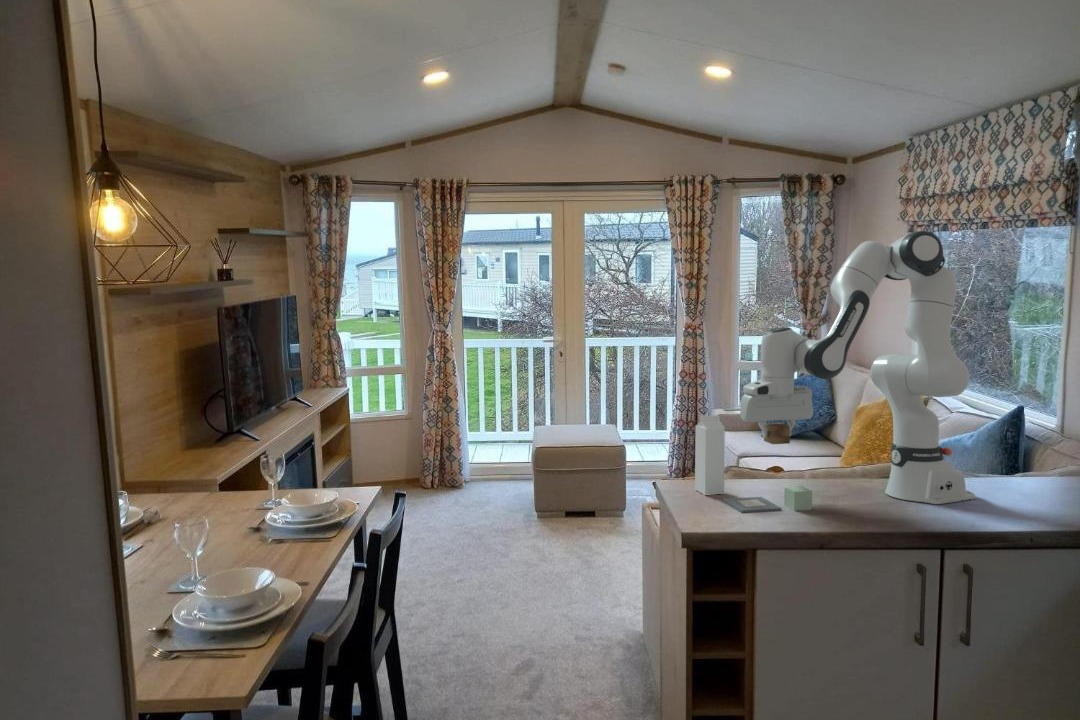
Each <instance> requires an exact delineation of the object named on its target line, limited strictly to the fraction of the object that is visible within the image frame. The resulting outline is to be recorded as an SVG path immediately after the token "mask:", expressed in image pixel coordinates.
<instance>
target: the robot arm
mask: <svg viewBox="0 0 1080 720" xmlns="http://www.w3.org/2000/svg"><path fill="white" fill-rule="evenodd" d="M945 262H946V259H945V256H944V247H943V244H942V242H941V239H940V238H939V237H938V236H937V235H936V234H935V233H933V232H930V231H925V230H920V231H913V232H910V233H908V234H906V235H905V236H902V237H900V238H897V240H895V241H893V242H892V243H890V244H889V245H885V244H883V243H881V242H879V241H875V240H867V241H863V242H862V243H860V244H859V245H858V246H857V247H855V249H854V250H853V251H852V252H851V253H850V254H849V255H848V256H847V258H846V259H845V261H844V262H843V263H842V265H841V266H840V268H839V269H838V271H837V272H836V274H835V275H834V277H833V279H832V281H831V285H830V295H831V297H832V298H833V301H834V302H835V303H836V304H838V305H839V311H838V314H837V317H836V318H835V319H834V322H833V323H832V325H831V328H830V329H829V331H828V332H827V333H828V334H826V336H825V337H822V338H821V339H812V338H809V337H806V336H803V335H801V334H799V333H798V332H796V331H794V330H793V328H791V327H789V326H781V327H775V328H770V329H768V330H766V331H765V332H763V336H762V339H761V343H760V363H761V372H760V377H759V378H760V379H757V380H755V381H752V382H750V383H748V384H745V385H743V389H742V390H743V393H745V394H743V396H742V397H741V401H740V412H739V413H740V415H739V416H740V418H741V420H742V421H743V422H746V423H757V425H758V426H759V427H758V428H760V430H761V437H763V438H764V437H770V431H768V430H767V429H766V428H765V426H764V425H766V423H767V422H774V421H775V422H776V421H778V422H779V421H786V422H787V425H790V437H791V436H792V430H793V429H794V427H795V426H796V422H797V421H796V420H810V419H812V417H813V415H814V406H813V401H812V399H813V390H812V389H811V387H809V386H808V385H795V373H796V372H797V373H801V374H803V375H809V376H813V377H815V378H819V379H821V380H830V379H833V378H835V377H836V376H838V375H839V374H840V373H841V372H842V371H843V369H844V368H845V366H846V362H847V357H848V352H849V349H850V347H851V345H852V343H853V340H854V339H855V337H856V336H857V333H858V331H859V330H860V329H861V326H862V324H863V322H864V319H865V317H866V315H867V313H868V311H869V309H870V306H871V305H870V303H871V300H872V297H873V295H874V293H875V291H876V290H877V289H878V287H879V285H880V283H881V282H882V280H883V279H884V278H886V279H889V280H892V281H904V280H907V279H908V281H909V283H910V295H909V299H908V304H907V305H908V306H907V311H906V314H905V315H906V316H905V321H904V326H903V327H904V328H903V329H904V332H905V334H906V335H907V336H908V337H909V339H911V340H913V341H914V342H916V343H917V345H918V353H917V354H910V353H889V354H884V355H880V356H878V357H877V358H875V360H874V361H873V363H872V364H871V367H870V378H871V381H872V382H873V383H872V384H873V385H874V386H875V387H876V388H877V389H878V390H879V391H880V392H881V393H882V395H884V397H885V399H886V400H887V402H888V405H889V407H890V410H891V411H890V412H891V415H892V424H893V426H892V430H893V431H892V432H893V433H892V437H893V438H892V443H891V446H890V459H891V466H890V467H891V468H890V472H889V473H890V474H889V477H888V481H887V486H886V488H885V491H884V493H885V494H886V495H888V496H890V497H893V498H896V499H900V500H904V501H905V500H906V501H909V502H910V501H911V502H919V503H920V502H921V503H926V504H933V505H942V504H949V503H955V502H963V501H968V500H969V499H970V500H975V499H976V495H975V494H974V493H973V491H972V492H971V491H970V490H967V488H966V480H965V477H964V475H963V473H961V472H960V471H959V470H957V468H955V467H953V465H952V464H950V463H949V462H948V461H946V460H945V458H944V455H946V456H952V454H953V450H952V448H949V447H945V446H944V447H941V446H940V445H939V436H940V435H939V434H940V420H939V417H938V416H937V415H936V413H934V412H933V411H932V410H930V409H929V408H928V407H927V406H926V405H925V403H924V402H923V400H922V396H925V397H932V398H933V397H934V398H947V397H957V396H960V395H962V393H964V392H965V390H966V389H967V387H968V385H969V382H970V372H969V369H968V367H967V365H966V364H965V362H963V361H962V360H961V359H960V358H959V357H958V356H957V354H956V353H955V351H954V348H953V345H952V342H951V329H952V328H951V326H952V320H953V313H954V308H955V304H956V303H955V302H956V291H957V290H956V289H957V288H956V287H957V285H956V284H957V283H956V276H955V273H954V271H952V270H951V269H949V268H947V267H945V266H944V265H945ZM962 500H963V501H962ZM970 500H969V501H970Z"/></svg>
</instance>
